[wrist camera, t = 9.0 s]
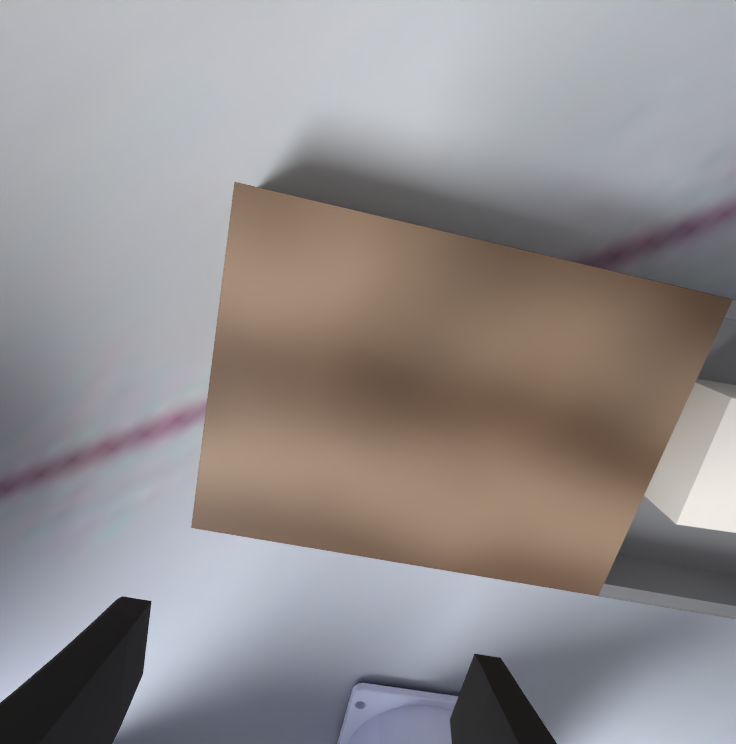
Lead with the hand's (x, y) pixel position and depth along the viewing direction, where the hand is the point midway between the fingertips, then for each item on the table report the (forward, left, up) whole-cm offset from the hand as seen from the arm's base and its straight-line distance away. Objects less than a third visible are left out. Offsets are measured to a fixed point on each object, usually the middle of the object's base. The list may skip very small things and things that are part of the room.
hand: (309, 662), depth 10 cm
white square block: (+4, -15, -9) cm, 18 cm away
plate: (+4, -3, -9) cm, 10 cm away
